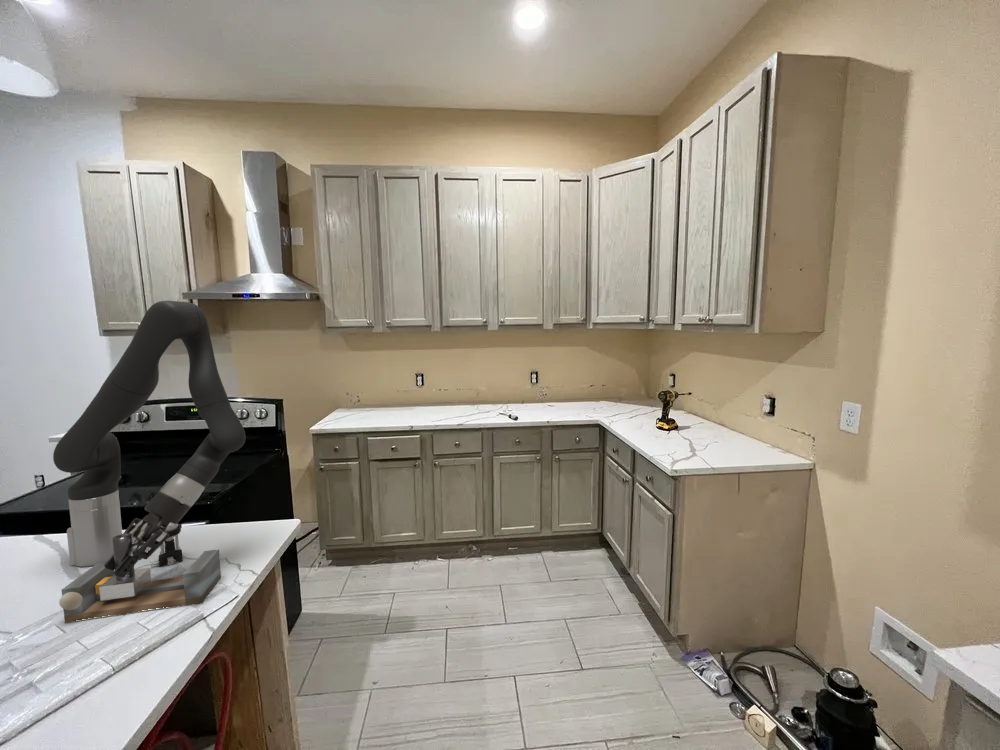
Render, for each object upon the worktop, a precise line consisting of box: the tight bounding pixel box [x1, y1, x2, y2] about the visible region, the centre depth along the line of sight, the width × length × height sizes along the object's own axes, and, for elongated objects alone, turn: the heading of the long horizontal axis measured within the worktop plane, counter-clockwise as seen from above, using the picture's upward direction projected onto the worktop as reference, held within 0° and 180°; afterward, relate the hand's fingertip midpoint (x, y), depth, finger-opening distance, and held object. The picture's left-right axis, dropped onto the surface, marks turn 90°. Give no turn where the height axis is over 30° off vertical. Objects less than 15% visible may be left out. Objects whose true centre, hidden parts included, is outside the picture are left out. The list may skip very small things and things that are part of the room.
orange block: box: [95, 577, 111, 594], centre depth 88 cm, size 2×3×2 cm, turn 14°
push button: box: [149, 522, 184, 568], centre depth 105 cm, size 7×5×10 cm
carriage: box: [99, 533, 152, 601], centre depth 89 cm, size 6×6×12 cm
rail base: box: [58, 548, 222, 623], centre depth 90 cm, size 24×10×7 cm, turn 104°
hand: (113, 571), depth 87 cm, fingers open, 4 cm apart
